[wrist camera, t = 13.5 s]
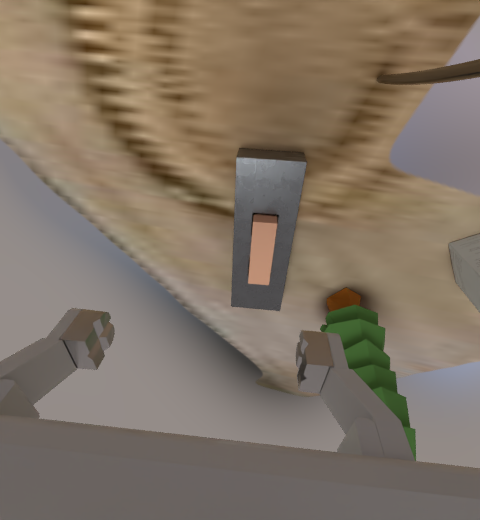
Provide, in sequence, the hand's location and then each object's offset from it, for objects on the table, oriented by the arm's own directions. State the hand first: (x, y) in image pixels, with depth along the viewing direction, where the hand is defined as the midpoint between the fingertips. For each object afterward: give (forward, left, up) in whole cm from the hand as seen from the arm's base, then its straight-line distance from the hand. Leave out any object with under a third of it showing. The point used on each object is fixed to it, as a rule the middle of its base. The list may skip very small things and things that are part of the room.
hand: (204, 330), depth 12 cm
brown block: (+12, +3, -29) cm, 32 cm away
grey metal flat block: (+12, +3, -29) cm, 32 cm away
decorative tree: (+25, +18, -29) cm, 42 cm away
